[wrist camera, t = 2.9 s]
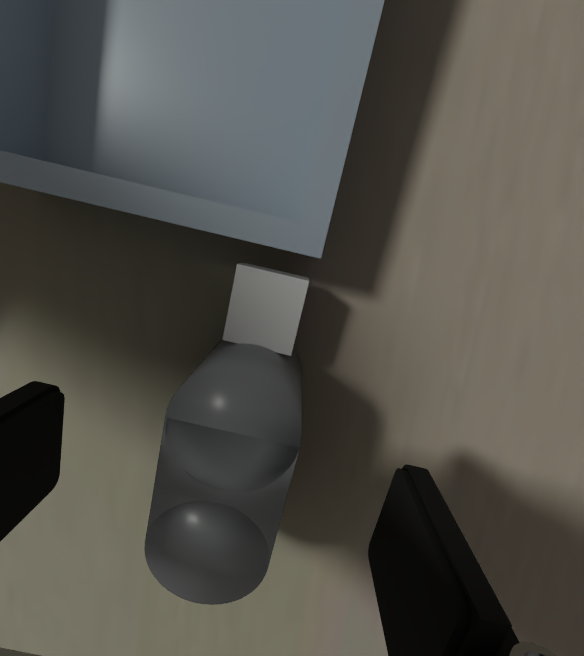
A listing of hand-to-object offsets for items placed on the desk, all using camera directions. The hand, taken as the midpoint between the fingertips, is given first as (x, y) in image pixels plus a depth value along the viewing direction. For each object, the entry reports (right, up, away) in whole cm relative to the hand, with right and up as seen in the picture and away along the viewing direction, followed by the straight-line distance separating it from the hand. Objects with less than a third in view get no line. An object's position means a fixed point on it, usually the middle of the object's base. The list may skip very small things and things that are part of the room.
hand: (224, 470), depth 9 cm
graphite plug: (0, +1, +4) cm, 4 cm away
